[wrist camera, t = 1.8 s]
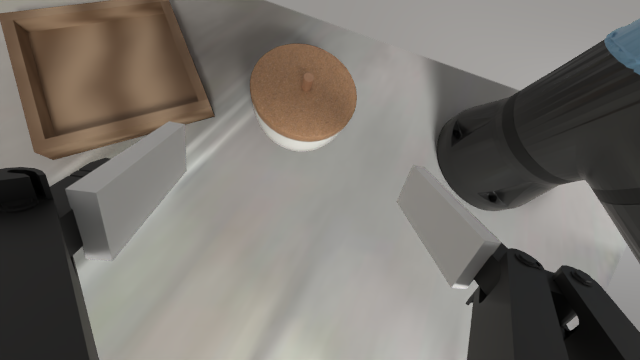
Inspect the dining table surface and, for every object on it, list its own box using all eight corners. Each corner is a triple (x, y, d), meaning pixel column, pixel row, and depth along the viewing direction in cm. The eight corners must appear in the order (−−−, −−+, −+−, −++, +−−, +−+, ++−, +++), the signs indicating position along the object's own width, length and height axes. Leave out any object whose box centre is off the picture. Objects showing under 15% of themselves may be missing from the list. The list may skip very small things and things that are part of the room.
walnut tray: (172, 10, 32) (166, -7, 30) (214, 116, 30) (210, 106, 28) (18, 31, 27) (-2, 13, 25) (53, 159, 25) (34, 151, 23)
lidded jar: (238, 143, 29) (227, 99, 21) (273, 75, 33) (276, 12, 24) (321, 177, 31) (344, 148, 22) (346, 107, 34) (375, 58, 25)
